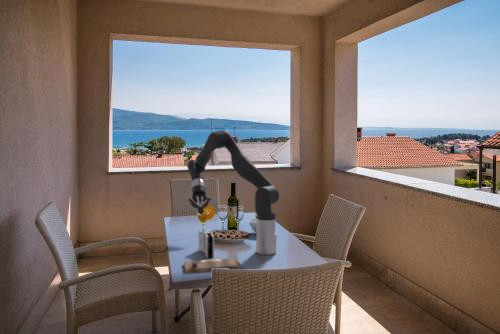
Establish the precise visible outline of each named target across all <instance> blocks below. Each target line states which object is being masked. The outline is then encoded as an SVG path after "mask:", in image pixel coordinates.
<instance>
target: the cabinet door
mask: <svg viewBox="0 0 500 334" xmlns="http://www.w3.org/2000/svg"><path fill="white" fill-rule="evenodd" d="M183 266H184V271H185V274H189V273H190V274H192V273H205V272H212V271H211V269H212V268H229V269H233V270H241V269H242V264H241V263H240V261H239V260H238V258H237V257H235V258H222V259H221V258H217V259H215V258H214V259H212V258H211V259H201V260H190V261H187V260H186V261H184V262H183Z"/></svg>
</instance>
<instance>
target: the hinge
mask: <svg viewBox="0 0 500 334" xmlns="http://www.w3.org/2000/svg"><path fill="white" fill-rule="evenodd" d="M215 248H216V246H215V236H214V234H213V232H212V231H201V230H199V231H198V251H199V252H203V253H204V254H205V256H206V258H207V259H210V258H211V259H212V258H215Z"/></svg>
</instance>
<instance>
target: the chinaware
mask: <svg viewBox="0 0 500 334" xmlns="http://www.w3.org/2000/svg"><path fill="white" fill-rule="evenodd" d="M256 218H257V217H256ZM256 218H255V217H254V218H250V219H249V226H250V228H251V229H252V230H253V232H255V234H256V235H257V219H256Z"/></svg>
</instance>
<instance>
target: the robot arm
mask: <svg viewBox="0 0 500 334" xmlns="http://www.w3.org/2000/svg"><path fill="white" fill-rule="evenodd" d="M222 148H225V149H226V150H227V151H228V152H229V154H230V161H231V162H230V163H231V166H232V168H233V169H234V170H235V172H236V173H237V174H238V176H240V177H241V178H242V179H243V180H245V181H247V182H248V183H250V184H252V185H253V186H254V187H255V188H256V191H255V195H254V206H255V207H254V210H255V214H256V218H257V234H256V244H255V245H256V246H255V247H256V248H255V250H256V253H257V254H258V255H262V256H270V255H274V254H277V233H276V217H277V216H276V213H275V212H274V211H272V207H271V206H272V205H273V204H275V203H277V202H278V201H279V199H280V193H279V190H278V189H277V188H276V187H275V186H274V184H273V183H271V182H270V181H269V180H268V179H267V178H266V177H265V176H264V175H263V173H262V172H261V171H260V170H259V169H258V168H257V167H256V166H255V164H254V163H253V162H252V160H250V158H248V156H247V155H246V154H245V153H244V152H243V150H242V149H241V148H240V146H239V145H238V144H237V142H236V141H235V140H234V138H233V137H232V135H231V134H230V133H229V132H228V131H227V130H225V129H221V130H217V131H213V132H211V133H210V134H209V135H208V137H207V139H206V141H205V143H204V145H203V147H202V150H200V152H199V153H198V154H197V155H196V157H195V159H190V160H189V161H188V162H187V170H188V173H189V175H190V177H191V193H192V196H191V198H189V199H188V203H189V205H191V206H192V207H193V208H194V209H197V213H198V215H203V214H204V209H206V208H207V207H208V205H209V204H210V203H211V200H212V199H211V197H208V196H207V194H206V193H207V192H206V184H205V179H204V174H203V173H204V172H205V169H206V166H207V164H208V162H209V161H210V160H211V159H212V156H213V152H214V151H215V150H217V149H222Z"/></svg>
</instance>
